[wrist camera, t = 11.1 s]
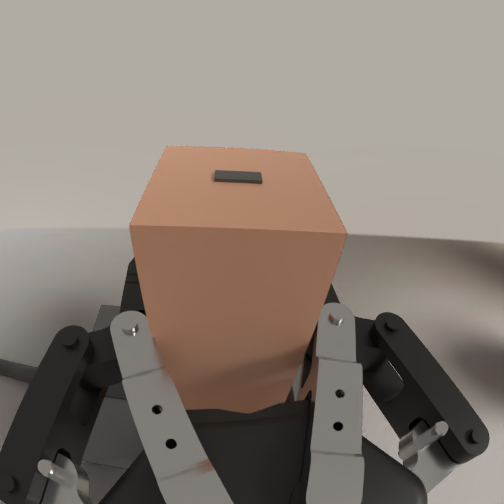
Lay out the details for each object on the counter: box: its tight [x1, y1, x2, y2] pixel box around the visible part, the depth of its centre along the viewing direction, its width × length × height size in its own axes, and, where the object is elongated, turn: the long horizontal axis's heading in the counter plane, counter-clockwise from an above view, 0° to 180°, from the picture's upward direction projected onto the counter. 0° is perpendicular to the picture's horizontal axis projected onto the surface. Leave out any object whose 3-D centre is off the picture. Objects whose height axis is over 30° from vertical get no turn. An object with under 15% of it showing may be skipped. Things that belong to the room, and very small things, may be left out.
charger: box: [129, 146, 347, 413], centre depth 12 cm, size 4×4×11 cm
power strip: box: [0, 305, 302, 469], centre depth 15 cm, size 20×9×3 cm, turn 93°
